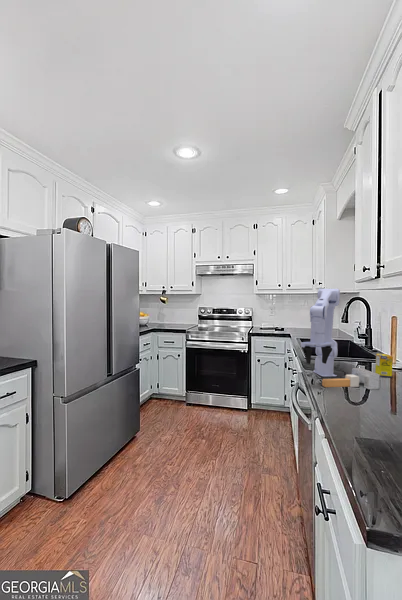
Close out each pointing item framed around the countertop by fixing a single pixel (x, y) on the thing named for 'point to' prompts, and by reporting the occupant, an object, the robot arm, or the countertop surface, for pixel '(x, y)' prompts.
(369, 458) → the countertop surface
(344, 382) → the plug
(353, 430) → the countertop surface
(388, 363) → the supplement box
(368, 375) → the housing
